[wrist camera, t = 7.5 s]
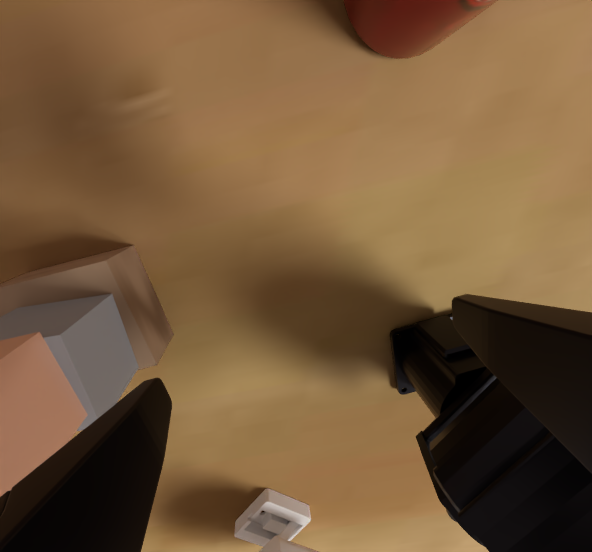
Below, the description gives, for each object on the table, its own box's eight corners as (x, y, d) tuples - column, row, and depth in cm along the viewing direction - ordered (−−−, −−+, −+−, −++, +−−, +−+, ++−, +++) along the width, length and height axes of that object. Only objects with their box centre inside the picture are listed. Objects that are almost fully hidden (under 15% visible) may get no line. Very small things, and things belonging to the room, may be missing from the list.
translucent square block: (174, 332, 22) (157, 364, 18) (82, 356, 21) (45, 395, 18) (135, 244, 19) (105, 260, 16) (31, 270, 19) (-25, 293, 15)
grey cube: (138, 367, 18) (101, 426, 14) (54, 381, 17) (-12, 447, 13) (112, 293, 16) (60, 334, 12) (17, 307, 16) (-71, 355, 12)
